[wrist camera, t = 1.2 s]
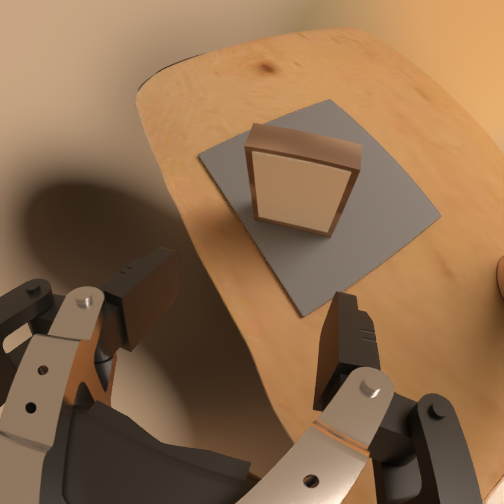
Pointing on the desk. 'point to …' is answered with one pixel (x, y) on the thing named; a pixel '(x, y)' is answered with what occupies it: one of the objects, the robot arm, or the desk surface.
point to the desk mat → (350, 223)
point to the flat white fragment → (496, 494)
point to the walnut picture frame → (300, 177)
